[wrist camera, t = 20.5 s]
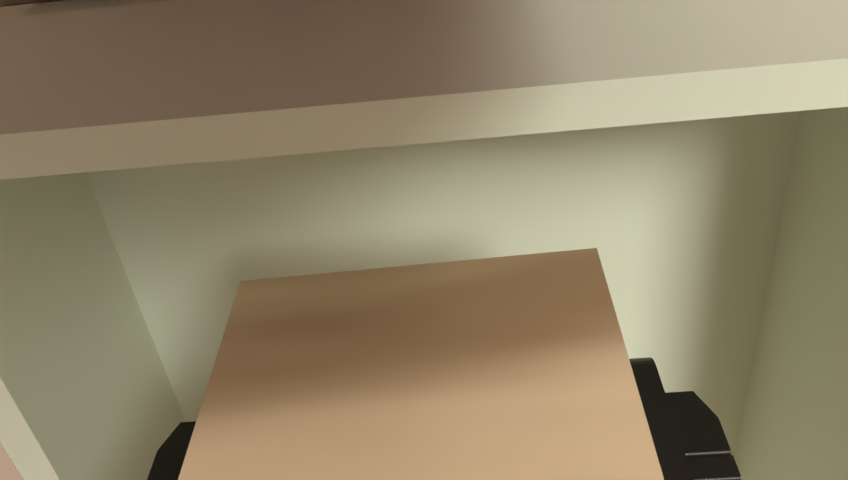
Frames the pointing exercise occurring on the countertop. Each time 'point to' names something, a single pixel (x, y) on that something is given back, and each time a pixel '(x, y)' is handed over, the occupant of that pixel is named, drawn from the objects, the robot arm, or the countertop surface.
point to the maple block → (426, 377)
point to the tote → (419, 193)
